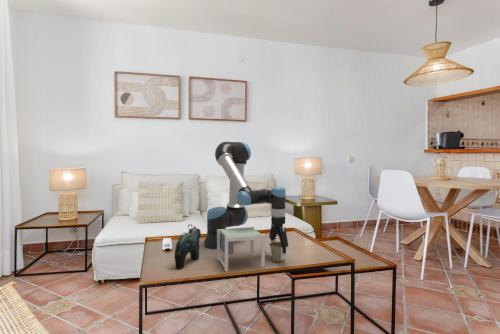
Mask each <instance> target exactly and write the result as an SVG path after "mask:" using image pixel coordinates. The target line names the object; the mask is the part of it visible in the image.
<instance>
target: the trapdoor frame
mask: <svg viewBox="0 0 500 334" xmlns="http://www.w3.org/2000/svg"><path fill="white" fill-rule="evenodd" d="M244 228H253V229H255V227H254V226H250V227H249V226H248V227H235V228H233V227H230V228H226V229H217V249H216V261H219V262H220V263H221V266H222V267H223V268H224V272H225V271H226V272H229V254H228V242H231V241H233V242H240V241H241V242H242V241H250V246H249V247H250V255H249V256H250V258H253V257H255V256H254V252H255V251H254V247H255V246H254V245H255V244H254V243H255V240H260V241H261V242H260V245H261V246H260V247H261V248H260V249H261V250H260V254H261V255H260V257H261V258H260V267H261V268H265V266H266V264H265V262H266V261H265V260H266V258H265V257H266V255H265V254H266V252H265V251H266V248H265V247H266V245H265V244H266V242H265V241H266V234H264V233H263V234H261V233H260V234H261V235H248V236H235V237H225V253H224V260H223V259H222V258H221V248H220V233H221V232H220V230H229V229H244Z"/></svg>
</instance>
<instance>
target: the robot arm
mask: <svg viewBox="0 0 500 334" xmlns="http://www.w3.org/2000/svg"><path fill="white" fill-rule="evenodd" d="M251 155H252V152H251V148H250V146H249V145H248V144H247V143H246V142H243V141H223V142H221V143H219V144H218V145H217V147H216V148H215V151H214V156H215V160H216V162H217V164H218V165H219V166H221V168H222V169H223V170H224V173H225V174H226V176H227V177H228V179H229V191H228V192H229V193H228V196H229V198H228V203H227V204H226V207H225V206H215V207H212V208H209V209H208V210H207V212H206V213H207V214H206V226H207V227H206V236H205V239H204V243H203V246H204V247H205V248H207V249H213V250H215V249H216V250H217V229H227V228H233V227H240V226H243V225H245V224H246V223H247V221H248V217H249V213H248V209H247V208H246V207H245V206H251V205H260V204H269V205H271V209H270V210H271V211H270V213H271V215H270V216H271V226H270V231H269V235H268V237H269V239H270V243H272V242H277V236H278V238H279V242H281V260H283V259H284V260H287V248H288V247H289V242H288V236H287V229H286V227H284V224H286V211H287V210H286V196H287V194H286V188H285V187H281V186H275V187H274V186H273V187H271V189H266V188H261V189H258V190H257V189H256V190H252V188H251V187H250V185H249V183H248V182H247V180H246V178H245V177H244V176H245V175H244V174H245V173H244V172H245V166H246V165H247V161H248V160H250V159H251ZM220 249H221V233H220ZM284 260H283V261H284Z"/></svg>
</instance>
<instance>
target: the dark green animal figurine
mask: <svg viewBox="0 0 500 334" xmlns="http://www.w3.org/2000/svg"><path fill="white" fill-rule="evenodd" d="M190 227H191V228H190ZM187 228H188V232H183V233H181V234H180V235H179V238H178V240H177V241H176V245H175V248H174V261H175V269H176V270H183V269H184V268H185V261H186V257H187V256H188V254H189V255H190V260H191V261H198V259H199V260H200V238H201V236H202V235H201V234H202V233H201V229H200V228H197V227H196V225H194V226H193V225H192V224H191V223H190V224H188V225H187ZM182 268H183V269H182Z"/></svg>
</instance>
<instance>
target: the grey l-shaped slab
mask: <svg viewBox="0 0 500 334" xmlns="http://www.w3.org/2000/svg"><path fill="white" fill-rule="evenodd" d="M243 228H244V229H231V228H228V229H229V230H220V232H221V248H220V250H221V251H222V252H223V254H225V237H235V236H248V235H261V232H259V231H258V230H256V229H255V228H254V229H253V228H245V227H243ZM233 254H234V241H231V242H228V255H233Z"/></svg>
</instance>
